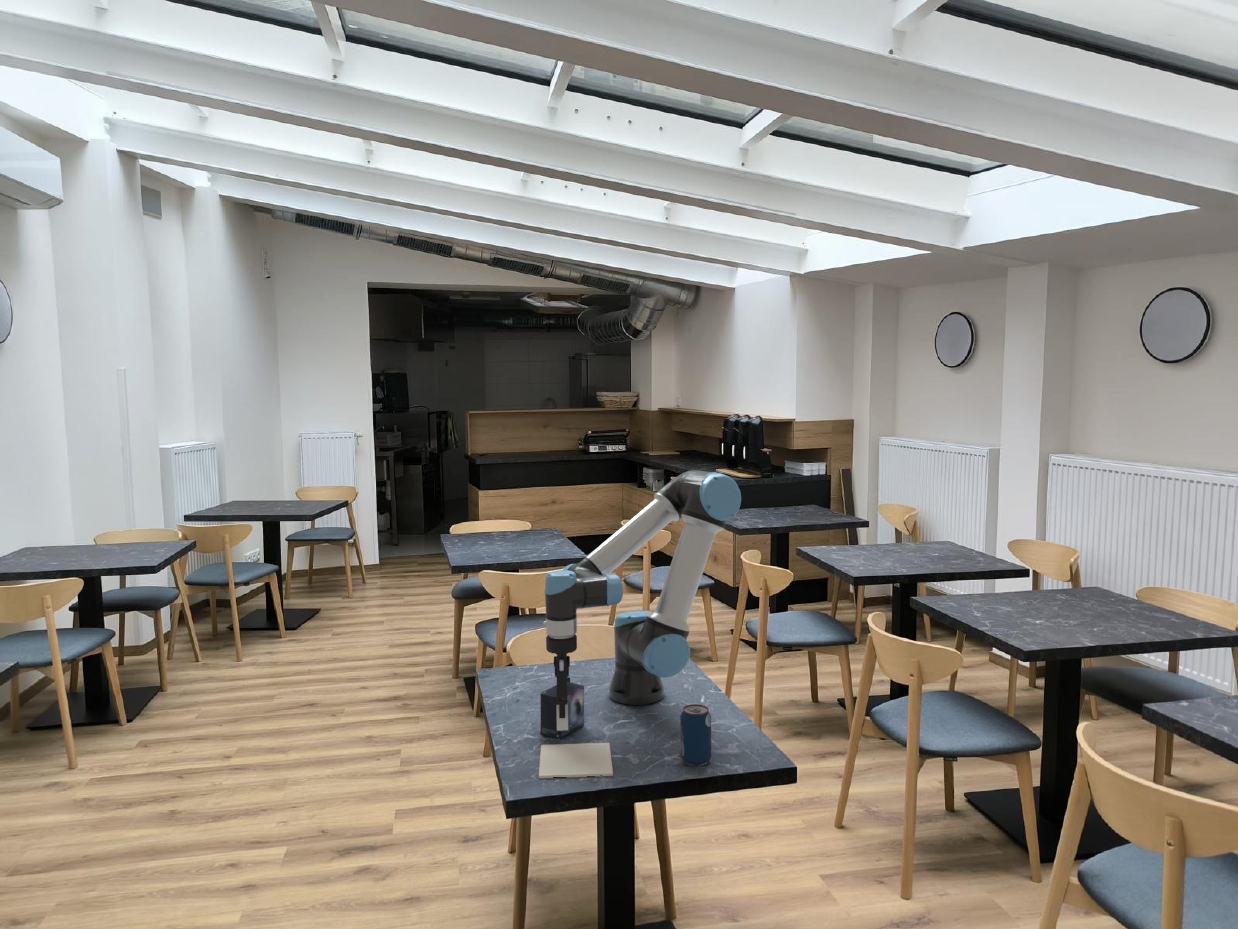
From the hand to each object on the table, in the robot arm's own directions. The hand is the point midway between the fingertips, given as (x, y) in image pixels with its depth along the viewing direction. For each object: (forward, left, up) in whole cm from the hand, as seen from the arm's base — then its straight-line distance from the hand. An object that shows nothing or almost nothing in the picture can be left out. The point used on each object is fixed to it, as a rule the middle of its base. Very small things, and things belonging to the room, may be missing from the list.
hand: (562, 719), depth 206 cm
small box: (0, 0, -3) cm, 3 cm away
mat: (-3, +18, -3) cm, 18 cm away
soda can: (-30, +20, -3) cm, 36 cm away
